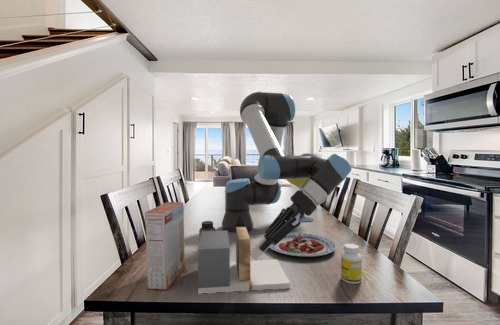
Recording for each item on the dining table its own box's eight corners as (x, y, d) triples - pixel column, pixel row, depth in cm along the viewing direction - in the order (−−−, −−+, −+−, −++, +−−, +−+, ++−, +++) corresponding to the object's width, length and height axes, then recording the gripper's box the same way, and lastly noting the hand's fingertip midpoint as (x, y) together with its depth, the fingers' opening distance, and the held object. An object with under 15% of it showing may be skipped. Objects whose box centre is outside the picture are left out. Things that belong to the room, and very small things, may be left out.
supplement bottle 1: (218, 251, 99) (218, 220, 99) (211, 257, 93) (211, 224, 93) (204, 249, 101) (204, 219, 101) (196, 255, 95) (195, 223, 95)
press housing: (277, 263, 88) (277, 228, 87) (290, 288, 72) (290, 245, 71) (201, 267, 85) (201, 231, 84) (198, 294, 69) (198, 249, 69)
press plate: (245, 261, 84) (245, 226, 84) (250, 279, 72) (250, 239, 72) (236, 262, 84) (236, 227, 84) (239, 280, 72) (239, 239, 72)
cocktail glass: (320, 216, 153) (320, 172, 152) (321, 224, 135) (321, 175, 135) (287, 215, 157) (288, 172, 156) (284, 222, 139) (284, 174, 139)
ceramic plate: (292, 234, 121) (292, 227, 121) (348, 248, 103) (348, 240, 103) (252, 248, 103) (252, 240, 103) (310, 269, 85) (310, 259, 84)
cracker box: (166, 267, 85) (166, 201, 84) (185, 268, 84) (185, 201, 84) (145, 290, 71) (144, 211, 70) (167, 291, 70) (166, 211, 70)
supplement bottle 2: (337, 276, 79) (338, 242, 79) (355, 275, 80) (356, 242, 79) (346, 285, 74) (346, 249, 73) (365, 284, 74) (365, 248, 74)
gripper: (325, 211, 74) (265, 275, 72) (309, 202, 87) (257, 256, 85) (306, 192, 73) (245, 256, 71) (293, 186, 86) (240, 240, 84)
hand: (252, 256), depth 78 cm, fingers closed
